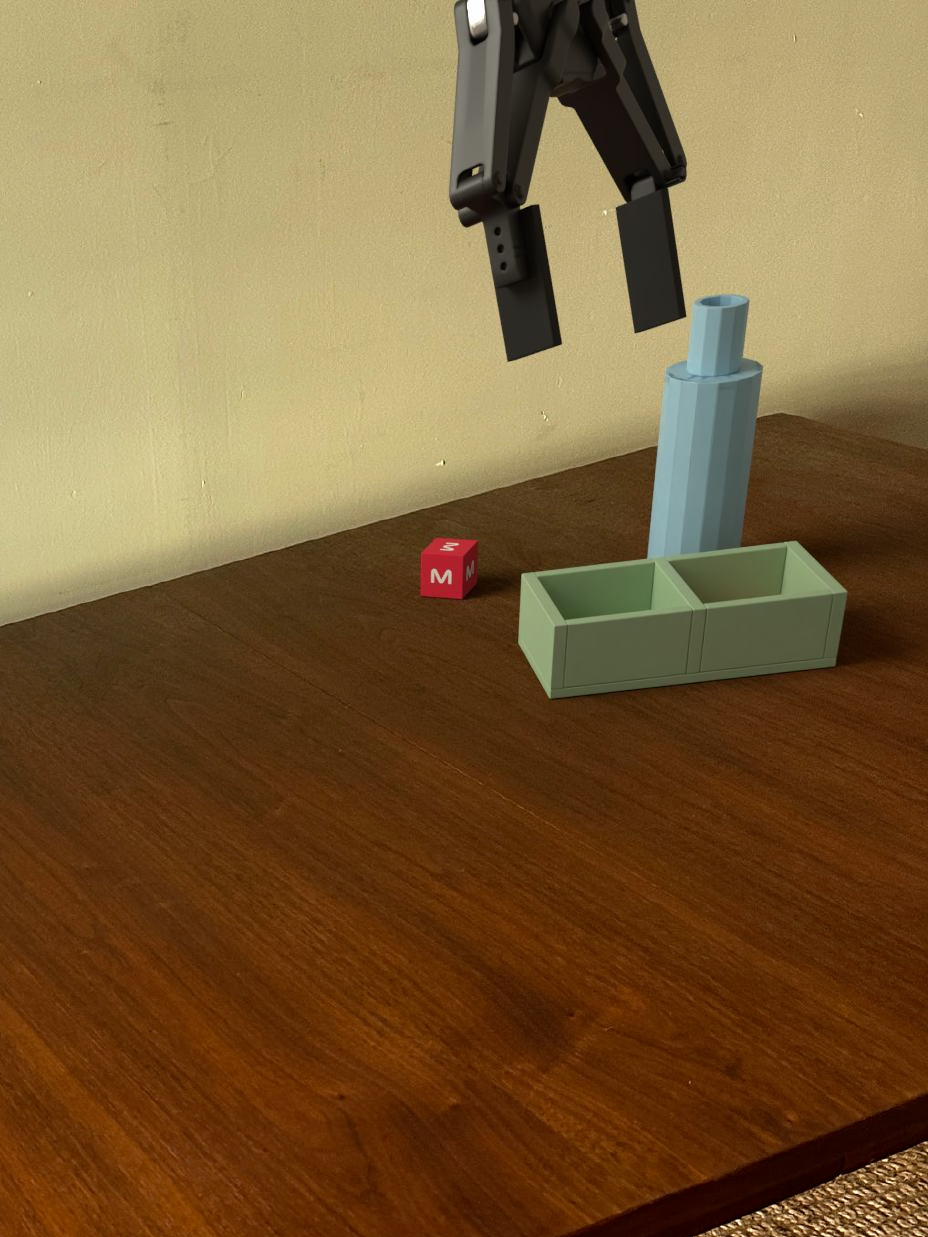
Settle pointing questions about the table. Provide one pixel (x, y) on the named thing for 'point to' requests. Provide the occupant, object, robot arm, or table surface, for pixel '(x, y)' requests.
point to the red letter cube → (449, 568)
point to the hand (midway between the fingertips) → (600, 339)
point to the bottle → (706, 435)
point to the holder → (680, 619)
